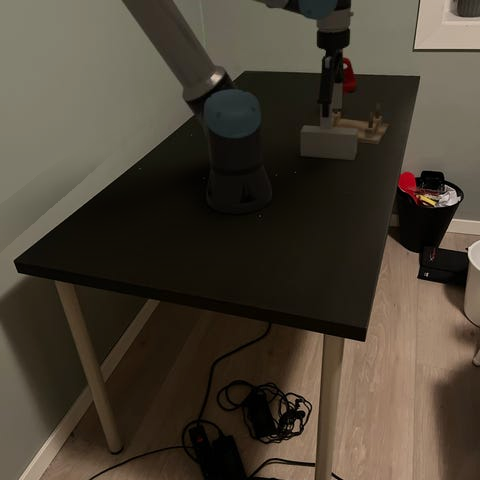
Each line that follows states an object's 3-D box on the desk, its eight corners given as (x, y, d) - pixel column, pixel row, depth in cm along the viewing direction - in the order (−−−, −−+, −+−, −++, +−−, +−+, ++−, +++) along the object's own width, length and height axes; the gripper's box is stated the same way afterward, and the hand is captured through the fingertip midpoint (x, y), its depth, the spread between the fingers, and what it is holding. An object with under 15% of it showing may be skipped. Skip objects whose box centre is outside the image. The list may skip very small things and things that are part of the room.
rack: (377, 144, 129) (380, 117, 124) (314, 136, 136) (315, 110, 132) (388, 127, 137) (391, 102, 133) (328, 120, 145) (329, 96, 140)
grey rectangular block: (354, 160, 123) (356, 135, 119) (300, 156, 127) (300, 131, 123) (356, 153, 126) (358, 128, 122) (303, 149, 130) (304, 125, 126)
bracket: (328, 92, 165) (329, 62, 159) (330, 86, 170) (331, 57, 164) (354, 92, 163) (356, 62, 157) (355, 86, 168) (357, 57, 162)
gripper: (340, 42, 97) (337, 139, 110) (358, 15, 116) (353, 100, 128) (304, 43, 100) (305, 137, 112) (327, 16, 118) (326, 99, 131)
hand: (331, 118), depth 120 cm, fingers open, 13 cm apart
